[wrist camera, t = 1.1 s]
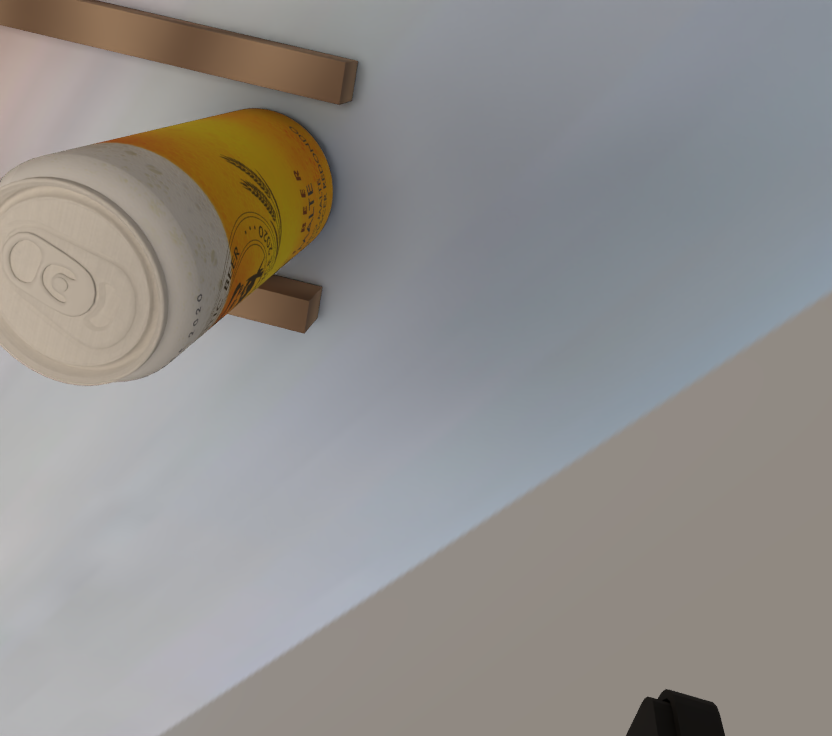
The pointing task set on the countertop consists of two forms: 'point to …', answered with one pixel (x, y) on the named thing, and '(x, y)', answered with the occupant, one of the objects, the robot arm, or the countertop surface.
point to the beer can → (151, 240)
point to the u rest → (213, 54)
